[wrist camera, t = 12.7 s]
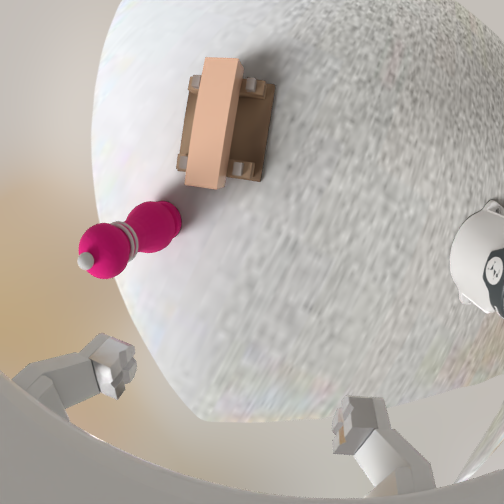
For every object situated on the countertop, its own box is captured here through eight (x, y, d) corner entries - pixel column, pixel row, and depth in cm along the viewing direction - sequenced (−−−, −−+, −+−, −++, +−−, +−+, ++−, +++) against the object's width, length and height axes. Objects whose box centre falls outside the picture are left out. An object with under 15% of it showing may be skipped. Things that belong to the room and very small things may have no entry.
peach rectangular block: (244, 68, 30) (238, 58, 27) (224, 186, 35) (216, 189, 32) (214, 67, 31) (205, 57, 27) (195, 182, 36) (184, 184, 32)
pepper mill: (151, 190, 41) (61, 215, 22) (191, 209, 41) (115, 248, 22) (138, 231, 43) (54, 276, 25) (175, 250, 44) (102, 310, 25)
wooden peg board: (275, 86, 34) (272, 74, 29) (260, 181, 39) (255, 184, 33) (193, 80, 35) (180, 70, 30) (180, 170, 40) (164, 172, 34)
